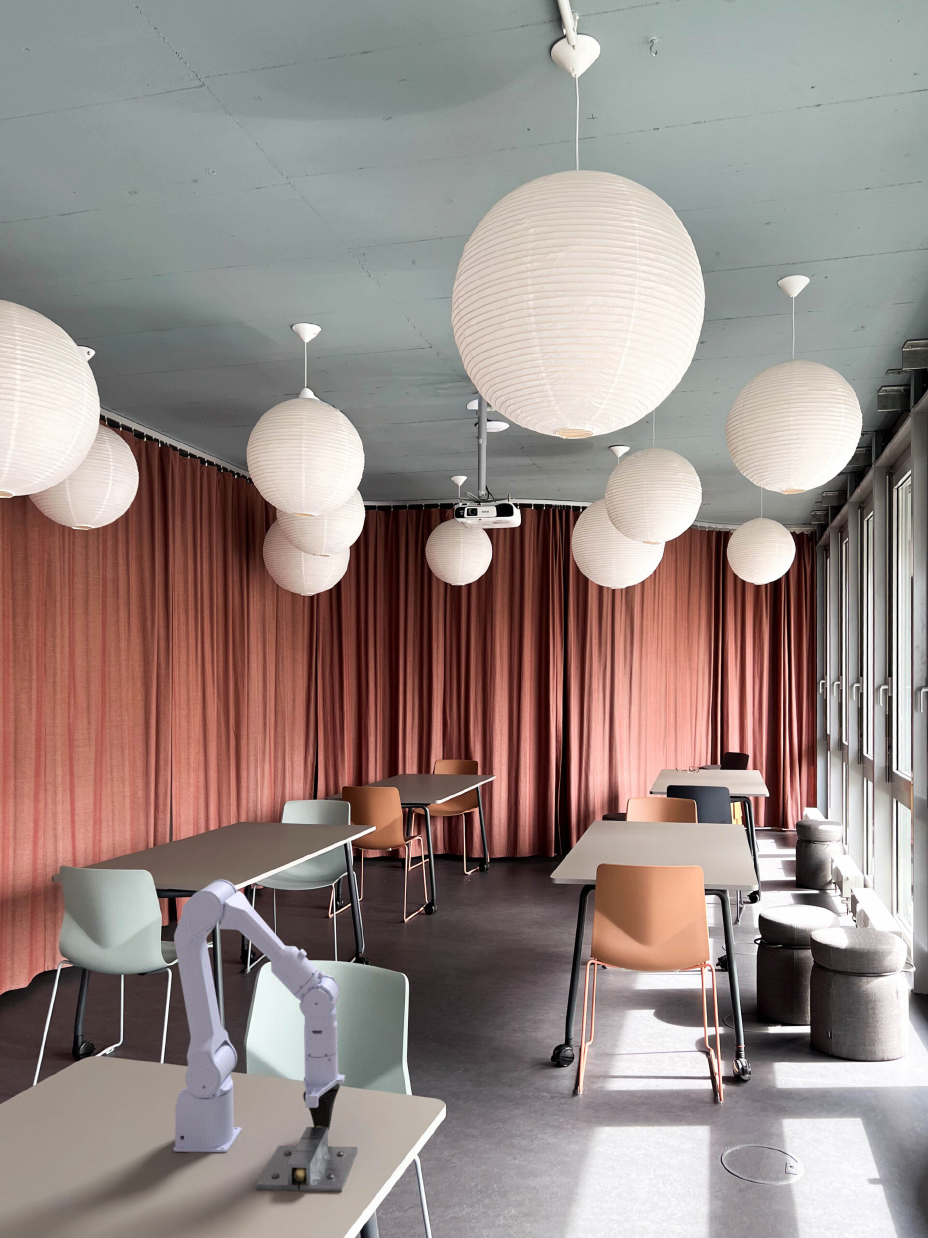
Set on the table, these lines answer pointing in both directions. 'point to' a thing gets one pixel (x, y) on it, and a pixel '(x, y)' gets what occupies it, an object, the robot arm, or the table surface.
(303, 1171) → the pin
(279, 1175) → the hinge
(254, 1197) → the table surface
